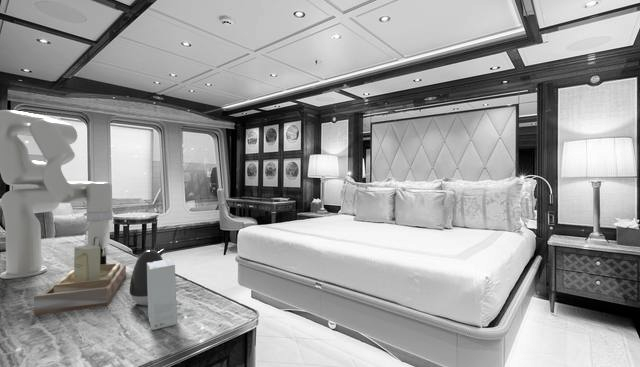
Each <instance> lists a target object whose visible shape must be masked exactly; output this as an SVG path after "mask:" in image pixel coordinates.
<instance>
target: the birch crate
mask: <svg viewBox="0 0 640 367" xmlns="http://www.w3.org/2000/svg"><path fill="white" fill-rule="evenodd" d="M120 268H121V262H115V263H106V264H100V279H99V280H90V281H80V282H74V268H73V269H71V270H72V271H71V270H70V271H71V272H70V271H68V272H69V273H68V272H67V273H68V274H67V273H66V274H67V275H66V274H65V275H66V276H65V275H63V276H62V277H63V278H62V277H61V278H62V279H61V278H60V279H61V280H60V279H59V280H57V281H58V282H57V281H56V282H57V283H56V282H55V283H56V284H55V283H54V284H55V285H54V284H53V285H54V293H59V292H68V291H77V290H86V289H94V288H103V287H107V285H108V284H109V283H110V281H111V280H112V279H113V277H114V276H115V274H116V273H117V272H118V270H119V269H120Z"/></svg>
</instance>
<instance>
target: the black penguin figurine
mask: <svg viewBox="0 0 640 367" xmlns="http://www.w3.org/2000/svg"><path fill="white" fill-rule="evenodd" d="M165 252H166V249H165V248H162V249H160V250H159V251H157V250H154V249H148V250H147V249H146V250H144V251H143V252H142V253H141V254H140V255H139V256H138V258H137V259H136V262H135V264H134V267H133V271H132V274H131V277H130V284H129V295H130V296H131V299H132V301H134V303H135V304H138V305H140V306H147V307H148V289H147V263H148V262H154V261H160V260H164V259H163V257H162V255H163V254H164V253H165Z"/></svg>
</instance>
